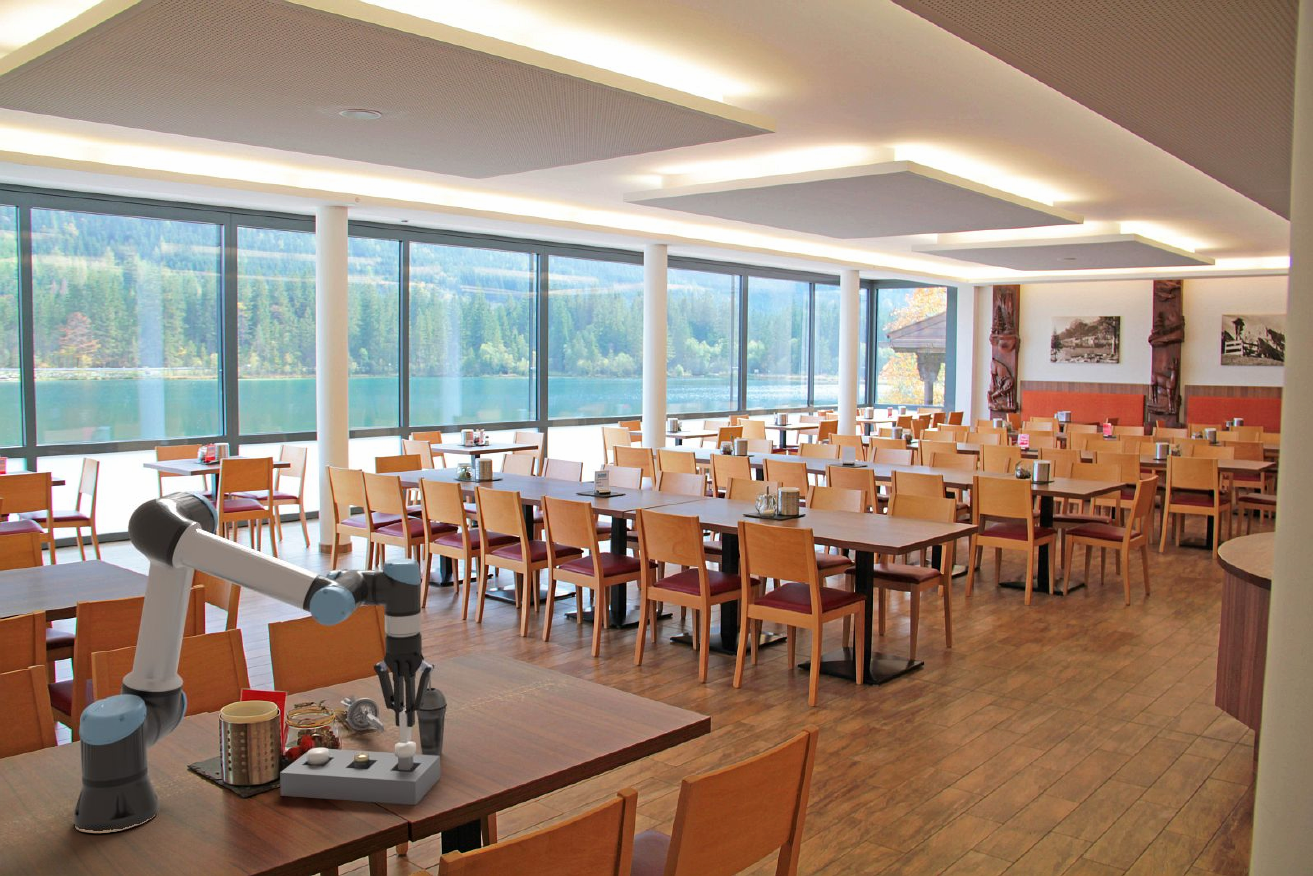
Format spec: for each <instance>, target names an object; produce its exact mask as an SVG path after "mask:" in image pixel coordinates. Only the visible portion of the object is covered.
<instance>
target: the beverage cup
mask: <svg viewBox="0 0 1313 876" xmlns="http://www.w3.org/2000/svg"><path fill="white" fill-rule="evenodd" d="M431 677H432V676H431V674H430V677H429V682H428V687H427V691H426V696H425V700H424V705H423V706H422V707H421V708H420V709H419V710H416V711H415V713H416V716H417V723H418V730H419V731H418V732H419V741H420V748H421V755H435V756H440V757H441V755H442V751H443V745H444V744H443V743H444V731H445V719H446V718H445V716H446V711H447V706H448V705H447V700H446V696H445V695H444V693H443V691H441V690H440V689H438V688H435V687H432V679H431Z"/></svg>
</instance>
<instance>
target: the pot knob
mask: <svg viewBox="0 0 1313 876" xmlns="http://www.w3.org/2000/svg"><path fill="white" fill-rule="evenodd" d="M354 768H356V769H368V768H369V754H367V753H359V754H356V755H354Z"/></svg>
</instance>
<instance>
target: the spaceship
mask: <svg viewBox="0 0 1313 876" xmlns="http://www.w3.org/2000/svg"><path fill="white" fill-rule="evenodd" d="M340 704H342V705H344V708H345V709H344V710H343V711H344V712H345V711H347V710H348V711H347V712H348V713H346V712H345V713H343V715H345V714H346V719H345V721H347V722H348V724H349V725H350V727H351V728H352V729H355V730H357V731H366V730H368V729H370V728H373V729H374V728H375V729H376V730H378V731H379V732H381V733H385V728H384V724H383V722H382V721H380V719H379V717H380V708H379V705H378V704H377V703H376V701H374V700H373V699H371V698H368V697H363V698H358V699H356V694H352V695H349V696H348V697H344V698H343V700H341V701H340ZM363 706H364V708H362V707H363ZM357 719H360V721H358V720H357Z"/></svg>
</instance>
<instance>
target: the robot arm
mask: <svg viewBox="0 0 1313 876" xmlns="http://www.w3.org/2000/svg"><path fill="white" fill-rule="evenodd" d="M218 524H219V515H218V511H217V510H216V507H215V505H214V504H213V503H212V502H211V500H209V498H207V496H205V495H203V494H200V493H199V492H194V491H176V492H173V493H171V494H168V495H165V496H162V497H159V498H153V499H150V500H147V501H144V502H143V503H142V504H140V505H139V506H138V507H137V508H136V509H135V510H134V511H133V513H132V514H131V515H130V518H129V521H128V525H127V533H128V537H129V540H130V542H131V544H132V545H133V546H134V548H135V549H136V550H137V551H138V552H140V553H141V554H142V555H144V557H145V558H146V559H147V560H148V561H149V568H148V569H149V570H148V574H147V575H148V576H147V582H146V587H145V594H144V600H143V606H142V612H141V618H140V625H139V631H138V636H137V643H136V647H135V648H136V649H135V654H134V659H133V660H134V661H133V665H132V670H131V671H130V672H129V673H127V674H126V675H124V676H123V678H122V682H121V683H122V685H121V687H120V688H121V689H120V694H116V695H111V696H107V697H106V698H104V699H101V698H100V699H98V700H96V701H94V702H92V703H91V704H89V705H88V706H86V707H85V709H84V710H83V711H82V713H81V715H80V718H79V727H78V735H79V742H80V763H81V765H80V766H81V779H82V780H81V781H82V782H81V783H82V785H81V789H80V792H79V795H78V798H77V802H76V805H75V808H74V812H73V825H74V824H75V826H76V827H78V828H79V829H85V830H93V831H103V830H110V829H111V830H113V829H123V828H125V827H129V826H132V825H134V824H140V823H142V822H144V821H146V820H147V819H150V818H152V817H153V816H154V815H156V814H157V813H158V814H159V812H158V810H159V811H160V807H159V803H160V802H159V798H158V795H157V794H156V793H155V789H154V787H153V785H152V781H151V779H150V776H149V774H148V773H149V772H148V769H149V768H148V749H149V748H151V747H152V746H154V745H155V744H157V742H159V741H161V740H162V739H164V738H165V737H166V736H168V735H169V734H171V733H173V731H174V730H175V729H176V728H177V727H178V726H179V724H180V723H181V722H182V720H183V719H184V717H185V715H186V712H187V709H188V707H187V706H188V702H187V701H188V699H187V695H186V693H185V692H184V691H183V685H184V684H183V683H184V680H183V678H182V677H181V676H180V675H179V673H178V667H179V662H180V656H181V650H182V645H183V638H184V633H185V628H186V627H185V626H186V620H187V616H188V615H187V614H188V609H189V603H190V596H191V591H192V586H193V585H192V584H193V580H194V579H193V578H194V574H195V570H196V571H199V572H201V573H205V574H206V575H210V576H212V577H215V578H218V579H221V580H223V581H225V582H228V583H231V584H233V585H237V586H239V587H242V588H244V589H247V590H250V591H253V592H255V593H258V594H260V595H262V596H266V597H268V598H271V599H274V600H276V601H279V602H280V603H281V602H282V603H285V604H288V605H289V606H291V607H295V608H298V609H300V610H303V611H305V612H308V613H310V615H311V617H312V618H313V619H314V620H315V621H316V622H317V623H319V624H321V625H323V626H334V625H337V624H340V623H342V622H343V621H345V620H347V619H348V618H349V617H351V615H352V613H354V612H355V611H357V610H358V609H359V608H360V607H361V606H362V607H365V606H366V607H367V606H383V608H384V633H385V635H384V645H385V647H384V648H385V649H384V650H385V655H384V656H383V660H382V661H379V662H378V663H376V664H375V665H373V670H374V671H375V673H376V675H377V676H378V681H379V684H380V687H381V691H382V695H383V700H384V704H385V708H386V709H387V710H392V711H394V713H395V714H394V715H395V716H394V717H395V718H394V719H395V720H394V721H395V722H394V723H395V726H396V727H398V728H399V742H400V743H406V744H407V743H408V742H409V741H411V740H412V728H413V726H415V724H416V710H419V709H420V708H421V707H422V706H423V705H424V700H425V696H426V691H427V688H428V687H429V677H430V675H431V674H432V672H433V671H434V669H435V665H434V663H431V664H429V663H428V662H427V661H425V658H424V655H423V653H422V649H423V648H422V647H423V646H422V645H423V644H422V643H423V642H422V641H423V640H422V636H423V635H422V632H421V630H422V608H421V606H422V604H421V599H422V598H421V597H422V596H421V595H422V594H421V593H422V592H421V590H422V589H421V586H422V584H421V583H422V579H421V572H420V563H419V562H418V561H417V560H415V559H414V558H413V559H412V558H406V557H405V558H393V559H388V560H386V561H384V562H383V566H382V569H347V568H343V569H337V570H336V569H335V570H330V571H329V572H328V573H327V574H326V576H324V575H321V574H319V573H318V572H317V573H316V572H314V571H312V570H309V569H306V568H303V567H302V566H298V565H295V564H293V563H290V562H288V561H286V560H283V559H280V558H278V557H274V556H273V555H270V554H266V553H264V552H262V551H259V550H256V549H254V548H251V547H249V546H246V545H244V544H240V543H238V542H235V541H233V540H231V539H230V540H229V539H228V538H224V537H222V536H220V535H217V534H215V533H216V531H217V529H218ZM388 669H389V670H388ZM419 669H420V673H421V675H420V677H419V681H418V686H417V692H416V677H417V672H418V670H419ZM389 671H390V672H391V673H392V681H393V686H392V682H391V677H390V673H389ZM158 814H157V815H158ZM157 815H156V816H157Z"/></svg>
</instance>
